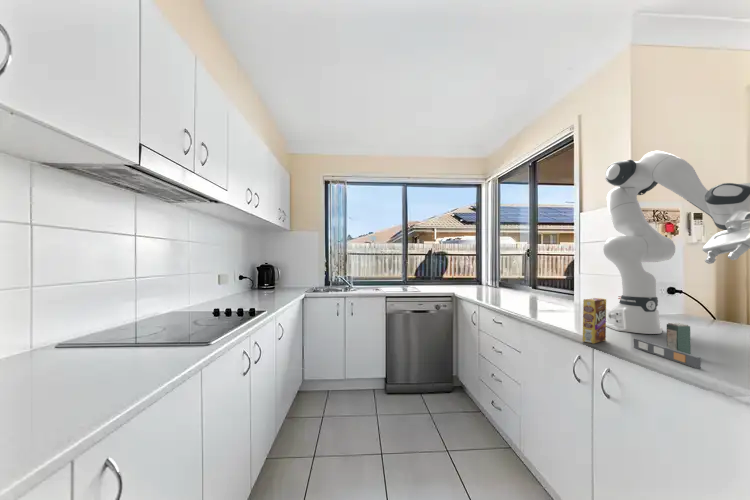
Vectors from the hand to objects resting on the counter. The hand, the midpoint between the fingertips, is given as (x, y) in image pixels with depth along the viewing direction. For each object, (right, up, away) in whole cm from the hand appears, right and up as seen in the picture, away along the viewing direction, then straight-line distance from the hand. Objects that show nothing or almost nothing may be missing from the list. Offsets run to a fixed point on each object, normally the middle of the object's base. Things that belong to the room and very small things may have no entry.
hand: (719, 260), depth 109 cm
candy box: (-27, -30, +18) cm, 44 cm away
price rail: (-18, -29, -1) cm, 35 cm away
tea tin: (-11, -29, +2) cm, 31 cm away
